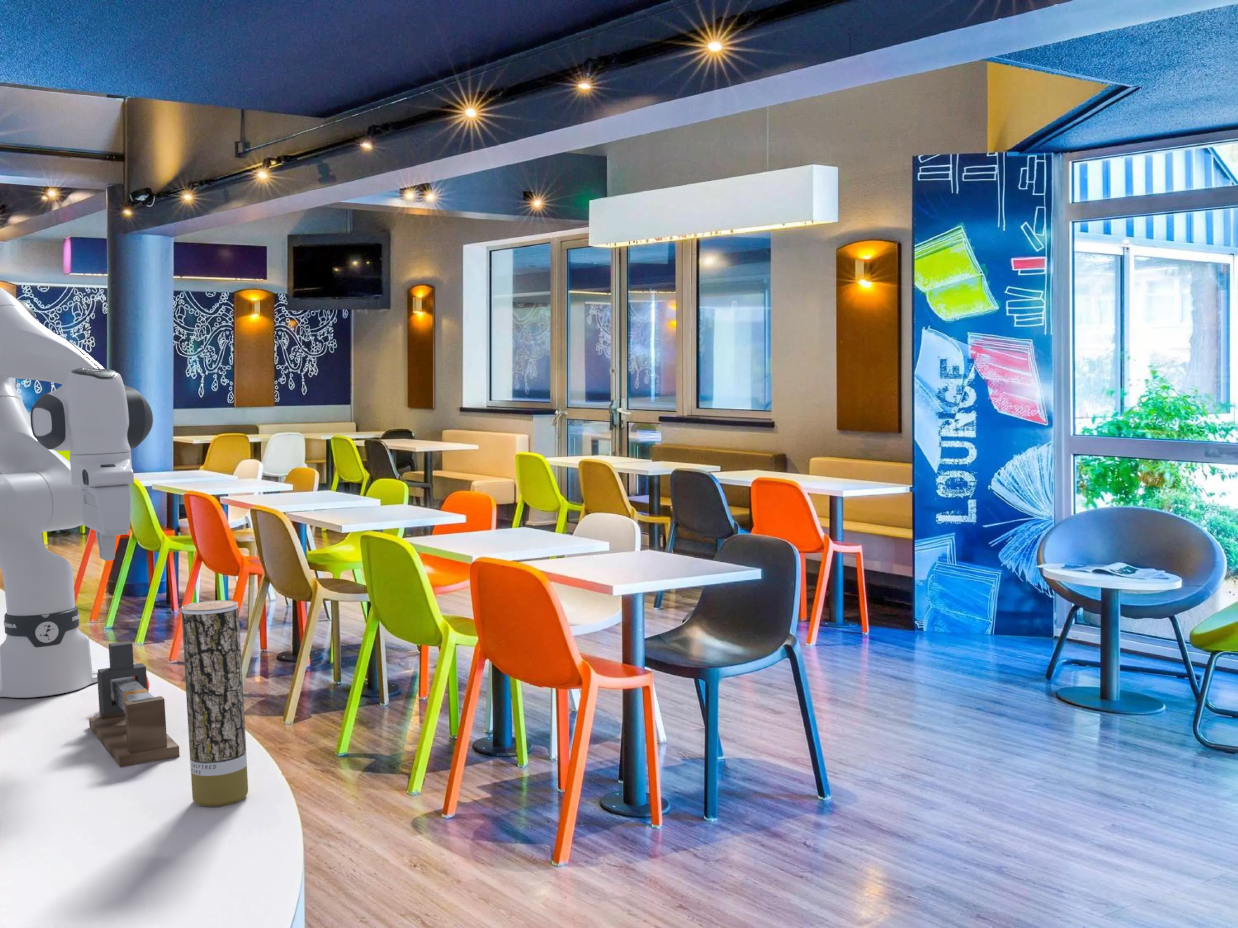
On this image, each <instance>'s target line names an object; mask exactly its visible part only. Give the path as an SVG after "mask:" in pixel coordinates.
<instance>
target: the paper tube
mask: <svg viewBox="0 0 1238 928" xmlns="http://www.w3.org/2000/svg"><path fill="white" fill-rule="evenodd" d="M238 604H239V602H238V601H235V600H227V599H226V600H207V601H206V600H205V601H199V602H192V603H188V604H185V605H183V606H182V607H181V622H182V623H181V624H182V641H183V655H184V656H183V660H184V678H185V695H186V713H187V727H188V728H187V729H188V730H187V732H188V745H189V746H188V750H189V764H190V766H189V767H190V776H191V779H190V780H191V793H192V794H191V795H192V797H191V798H192V800H193V802H194V803H195V804H197V805H198V806H202V807H207V808H208V807H210V808H211V807H212V808H213V807H215V808H217V807H223V806H229V805H232V804H235V803H238V802H240V801H242V800H243V799H245V798H246V797H247V796H248V793H249V784H248V783H249V782H248V780H249V779H248V759H247V755H248V754H247V742H246V741H247V739H246V720H245V701H244V687H243V686H244V685H243V683H244V682H243V670H242V669H243V666H242V664H243V663H242V647H241V645H242V644H241V629H240V628H241V626H240V614H239V613H240V609H239V605H238Z"/></svg>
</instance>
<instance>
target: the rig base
mask: <svg viewBox="0 0 1238 928" xmlns="http://www.w3.org/2000/svg"><path fill="white" fill-rule="evenodd" d="M132 677H133V678H134V676H132ZM97 680H98V673H97ZM97 693H98V694H97V695H98V710H99V716H93V717H89V718H88V724H89V725H88V726H89V729H90V730H91V731H92V732H93V734H94V735H95V737H96V738H97V739H98V741H99V742H100V743H101V744H102V746H103V747H104V748H105V750H106V751H107V753H109V755H110V756H111V757H112V758H113V760H114V762H115V763H116V764H117V765H118V767H119V768H125V767H129V766H135V765H140V764H145V763H146V764H147V763H150V762H152V763H153V762H156V761H157V762H158V761H161V760H167V759H172V757H173V758H177V757H180V745H178V744H177V742H176V741H175V740H174V739H173V738H172V737H171V736H170V735H169V734H168V733H167V721H166V720H167V719H166V705H165V703H166V702H165V700H166V699H165V698H164V697H163V696H162V695H160V696H153V697H154V698H155V699H151V698H150V699H149V698H146V699H149V700H146V699H145V700H144V701H140V700H139V701H137V700H136V701H137V702H135V701H134V702H133V701H127V702H124V704H125V712H119V713H113V714H107V715H103V713H102V712H101V711H100V697H99V681H98V682H97ZM153 697H152V698H153ZM111 699H112V698H111ZM112 701H114V700H113V699H112Z"/></svg>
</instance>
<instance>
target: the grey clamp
mask: <svg viewBox="0 0 1238 928" xmlns="http://www.w3.org/2000/svg"><path fill="white" fill-rule="evenodd" d="M133 649H134V647H133V642H131V641H130V640H126V641H120V642H119V641H118V642H112V643H111V642H110V643H108V655H109V657H108V658H109V667H106V668H99V669H98V668H97V672H98V681H99V696H98V698H99V697H100V711H101V712H102V713H103V715H107V714H113V713H119V712H124V711H123V710H122V709H121V708H120V707H119V706H118V704H117V703H116V702H115V701H112V699H111V683H110V680H112V679H119V678H125V677H132V676H135V680H136V681H137V682H138V683H139V684H140V685H142V686H143V687H144V688H145V689H147V677H148V675H147V666H146V665H145V664H144V663H134V650H133Z"/></svg>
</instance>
